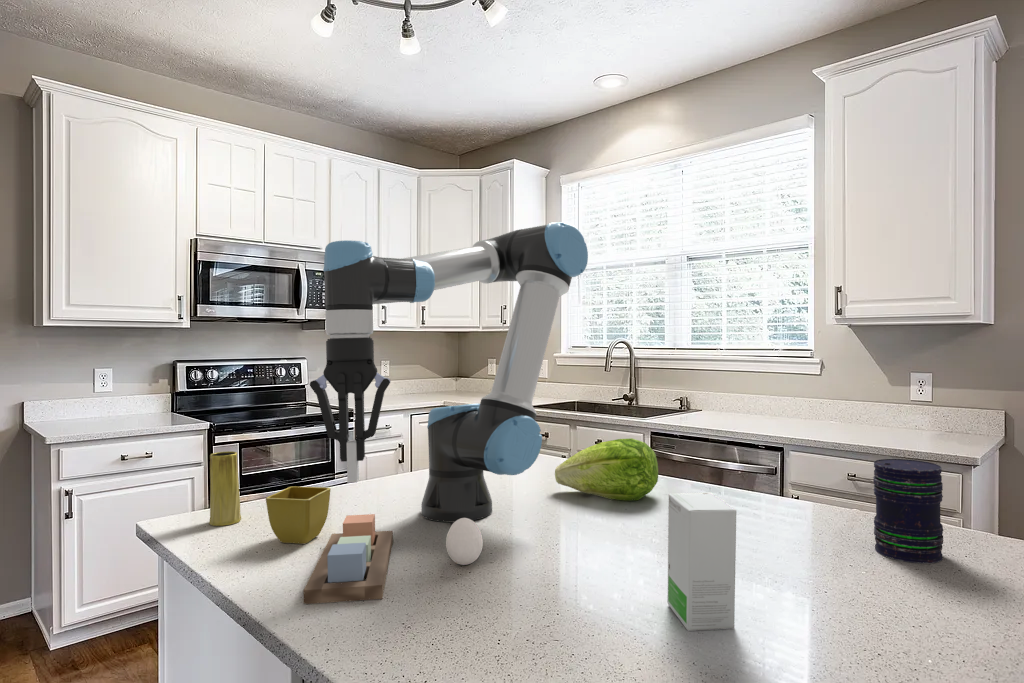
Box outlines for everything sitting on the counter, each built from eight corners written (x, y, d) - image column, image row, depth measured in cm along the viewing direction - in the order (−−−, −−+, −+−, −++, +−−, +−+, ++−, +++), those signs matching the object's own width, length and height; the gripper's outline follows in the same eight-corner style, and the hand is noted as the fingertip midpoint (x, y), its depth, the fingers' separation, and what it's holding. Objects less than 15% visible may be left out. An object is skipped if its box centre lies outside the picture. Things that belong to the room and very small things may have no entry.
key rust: (375, 536, 114) (374, 514, 114) (372, 545, 109) (372, 522, 109) (346, 537, 113) (346, 515, 113) (343, 546, 108) (342, 523, 108)
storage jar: (933, 546, 109) (932, 460, 109) (952, 566, 100) (951, 472, 100) (868, 541, 112) (867, 457, 112) (881, 560, 103) (879, 468, 103)
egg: (441, 561, 106) (441, 515, 106) (475, 555, 108) (474, 511, 108) (452, 573, 100) (452, 525, 100) (488, 567, 103) (487, 520, 103)
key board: (393, 541, 117) (393, 530, 117) (382, 598, 91) (382, 584, 91) (332, 544, 115) (331, 533, 115) (303, 604, 90) (303, 590, 90)
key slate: (366, 568, 98) (365, 542, 98) (362, 580, 93) (362, 553, 93) (333, 570, 97) (332, 544, 97) (328, 582, 92) (327, 555, 92)
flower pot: (309, 549, 113) (308, 499, 113) (265, 546, 115) (264, 497, 115) (332, 533, 122) (331, 487, 122) (291, 531, 124) (290, 486, 124)
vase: (214, 528, 127) (212, 457, 127) (205, 522, 131) (203, 453, 131) (245, 522, 131) (244, 453, 131) (235, 516, 135) (234, 449, 135)
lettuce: (565, 456, 161) (545, 435, 149) (661, 447, 152) (647, 425, 141) (564, 512, 154) (543, 495, 142) (665, 507, 145) (651, 488, 133)
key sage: (371, 559, 106) (370, 535, 106) (368, 569, 101) (367, 545, 101) (340, 560, 105) (340, 537, 105) (336, 571, 100) (335, 546, 100)
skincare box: (666, 604, 87) (665, 492, 87) (713, 602, 88) (711, 490, 88) (688, 633, 79) (687, 509, 79) (739, 630, 80) (737, 507, 79)
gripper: (391, 336, 108) (394, 473, 108) (312, 337, 106) (316, 477, 106) (388, 336, 100) (392, 484, 100) (304, 337, 98) (307, 488, 99)
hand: (353, 480), depth 103 cm, fingers closed
